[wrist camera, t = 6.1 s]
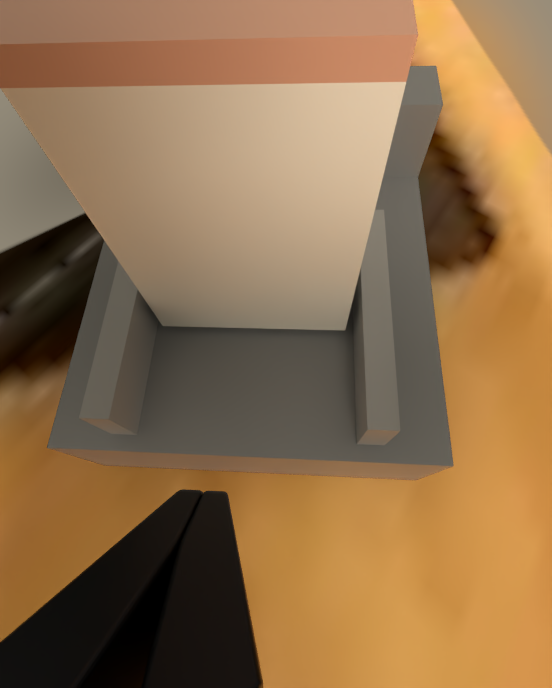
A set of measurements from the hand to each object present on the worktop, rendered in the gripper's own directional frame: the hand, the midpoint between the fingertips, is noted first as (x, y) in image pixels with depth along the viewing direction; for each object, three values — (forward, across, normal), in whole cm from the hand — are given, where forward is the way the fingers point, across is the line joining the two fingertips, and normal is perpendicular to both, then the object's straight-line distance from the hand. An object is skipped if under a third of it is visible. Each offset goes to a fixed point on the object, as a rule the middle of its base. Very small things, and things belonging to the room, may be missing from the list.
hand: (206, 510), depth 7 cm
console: (+12, 0, 0) cm, 12 cm away
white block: (+9, 0, -3) cm, 9 cm away
